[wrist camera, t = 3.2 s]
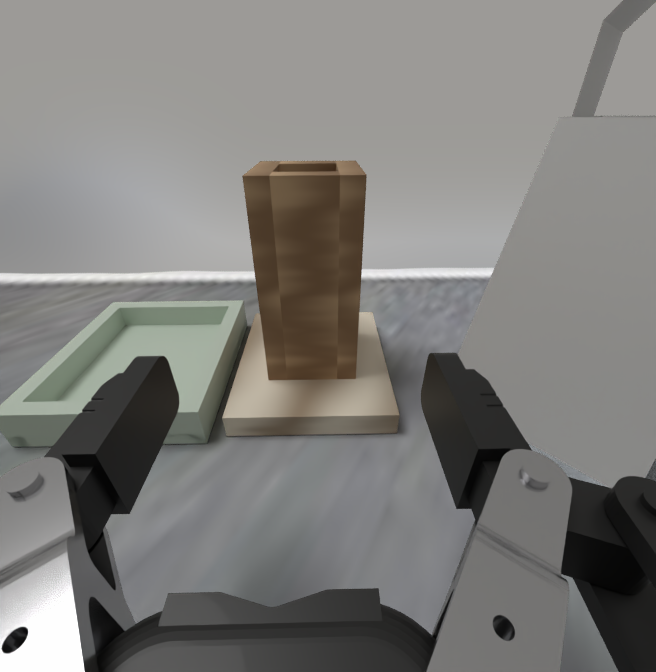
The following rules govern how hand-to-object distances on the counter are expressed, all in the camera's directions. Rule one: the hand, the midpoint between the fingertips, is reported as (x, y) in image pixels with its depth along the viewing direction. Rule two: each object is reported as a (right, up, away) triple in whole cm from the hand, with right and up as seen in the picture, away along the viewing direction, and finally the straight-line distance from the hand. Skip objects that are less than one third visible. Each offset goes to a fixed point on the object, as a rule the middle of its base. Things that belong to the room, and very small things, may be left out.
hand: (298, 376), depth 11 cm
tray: (-12, -1, +14) cm, 18 cm away
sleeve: (0, 0, +14) cm, 14 cm away
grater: (+16, -3, +12) cm, 20 cm away
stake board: (0, -1, +15) cm, 15 cm away
